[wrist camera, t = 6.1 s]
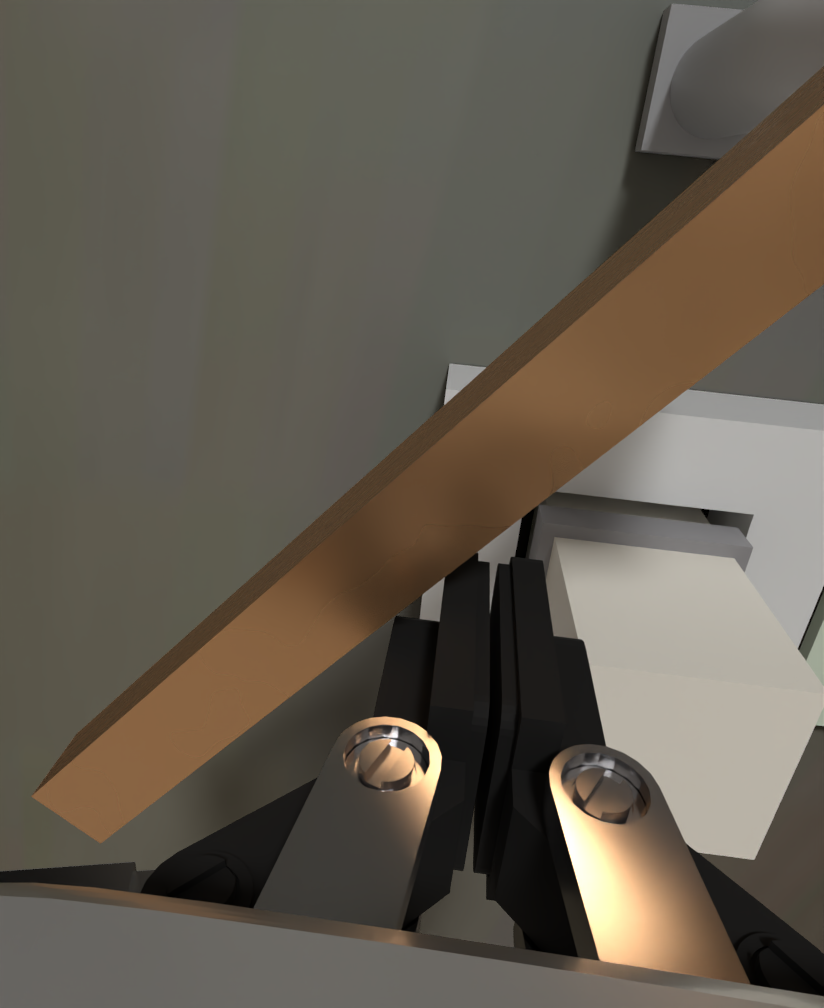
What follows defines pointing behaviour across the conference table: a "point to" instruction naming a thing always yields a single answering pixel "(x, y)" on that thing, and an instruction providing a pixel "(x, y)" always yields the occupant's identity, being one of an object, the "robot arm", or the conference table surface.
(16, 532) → the conference table surface
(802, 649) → the mat
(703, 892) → the robot arm
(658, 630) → the plug
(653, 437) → the socket block
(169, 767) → the wooden bar
